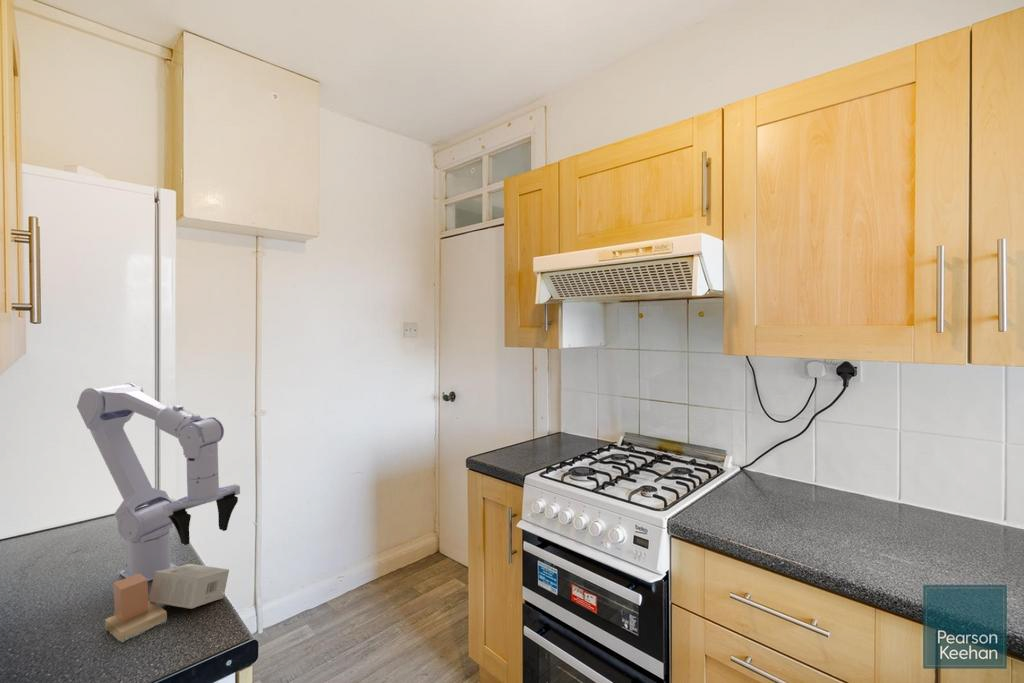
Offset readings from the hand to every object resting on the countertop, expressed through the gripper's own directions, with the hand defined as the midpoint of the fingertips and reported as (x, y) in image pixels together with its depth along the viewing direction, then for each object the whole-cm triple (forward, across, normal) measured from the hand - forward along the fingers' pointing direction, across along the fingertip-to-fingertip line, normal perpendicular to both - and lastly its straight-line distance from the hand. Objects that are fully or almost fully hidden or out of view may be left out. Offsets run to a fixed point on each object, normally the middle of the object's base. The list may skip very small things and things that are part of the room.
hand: (204, 536), depth 101 cm
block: (+8, -15, -4) cm, 17 cm away
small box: (+6, -4, -12) cm, 14 cm away
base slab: (+10, -14, -6) cm, 18 cm away
